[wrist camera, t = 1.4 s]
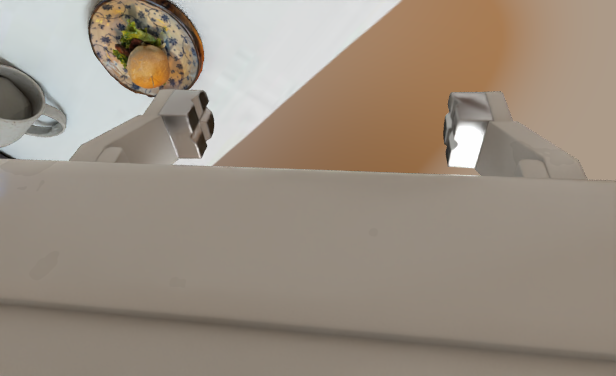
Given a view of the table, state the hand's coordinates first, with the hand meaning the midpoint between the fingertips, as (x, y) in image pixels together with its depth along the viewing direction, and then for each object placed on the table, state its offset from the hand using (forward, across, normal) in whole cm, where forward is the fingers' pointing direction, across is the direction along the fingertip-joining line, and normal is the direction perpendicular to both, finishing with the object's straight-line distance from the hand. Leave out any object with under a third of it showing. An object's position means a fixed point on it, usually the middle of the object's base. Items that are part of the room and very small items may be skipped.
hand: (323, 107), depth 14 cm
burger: (+29, +23, +12) cm, 38 cm away
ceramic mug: (+28, +42, +18) cm, 53 cm away
